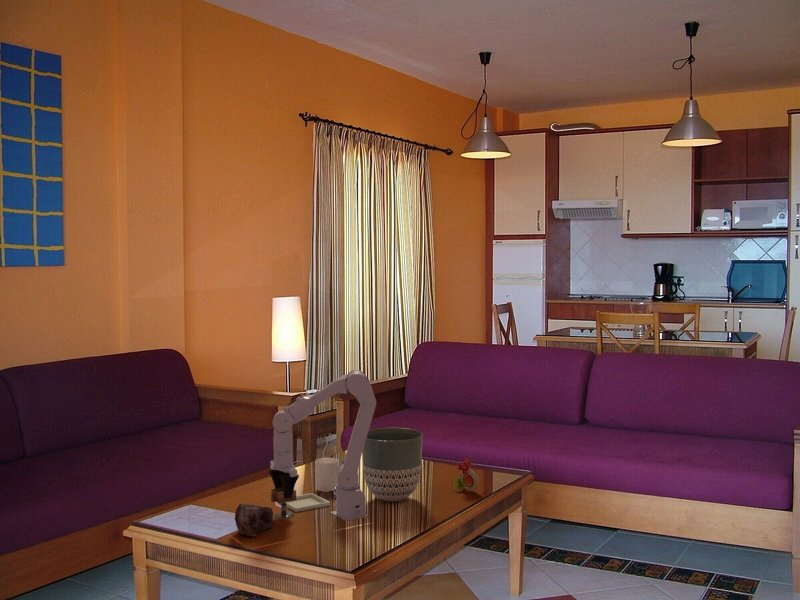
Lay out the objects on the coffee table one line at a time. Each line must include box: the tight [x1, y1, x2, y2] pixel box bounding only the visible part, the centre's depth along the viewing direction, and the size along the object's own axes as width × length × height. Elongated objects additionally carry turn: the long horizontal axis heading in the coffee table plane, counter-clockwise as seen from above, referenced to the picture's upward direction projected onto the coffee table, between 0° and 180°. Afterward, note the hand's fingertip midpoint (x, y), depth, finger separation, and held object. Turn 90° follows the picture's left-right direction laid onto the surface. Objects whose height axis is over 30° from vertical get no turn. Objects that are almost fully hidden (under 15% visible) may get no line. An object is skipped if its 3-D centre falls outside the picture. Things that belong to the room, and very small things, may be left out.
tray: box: [286, 492, 331, 513], centre depth 265 cm, size 12×12×2 cm
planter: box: [361, 427, 424, 503], centre depth 270 cm, size 20×20×21 cm
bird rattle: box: [452, 458, 480, 493], centre depth 280 cm, size 6×11×9 cm
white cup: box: [314, 457, 340, 493], centre depth 282 cm, size 8×8×10 cm
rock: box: [234, 503, 274, 538], centre depth 239 cm, size 12×9×10 cm
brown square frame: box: [270, 487, 297, 505], centre depth 253 cm, size 6×7×3 cm
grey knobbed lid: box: [273, 502, 295, 520], centre depth 253 cm, size 6×6×4 cm
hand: (283, 495), depth 253 cm, fingers closed on brown square frame, 6 cm apart
